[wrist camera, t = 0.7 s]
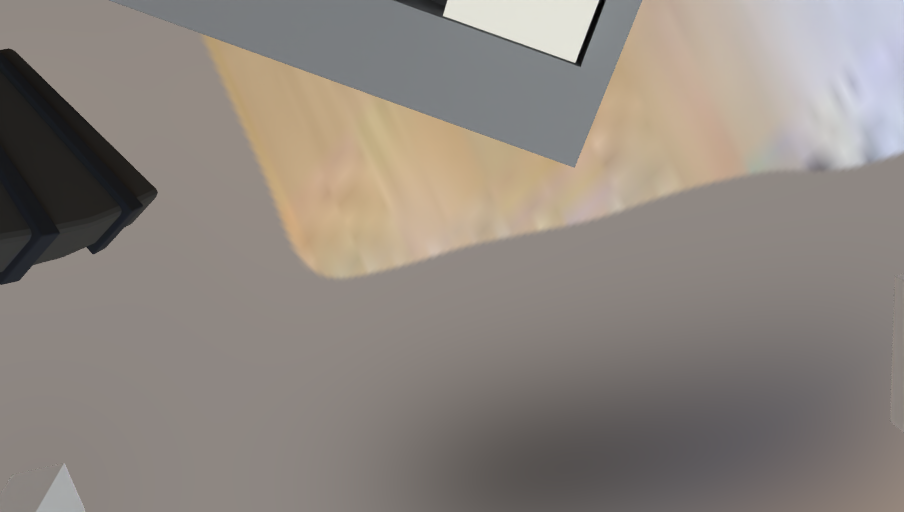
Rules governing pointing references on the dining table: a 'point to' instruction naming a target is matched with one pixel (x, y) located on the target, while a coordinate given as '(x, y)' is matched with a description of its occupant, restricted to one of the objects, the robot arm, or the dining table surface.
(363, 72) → the grey boxy piece
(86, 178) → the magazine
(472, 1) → the ivory key
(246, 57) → the dining table surface
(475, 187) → the dining table surface
